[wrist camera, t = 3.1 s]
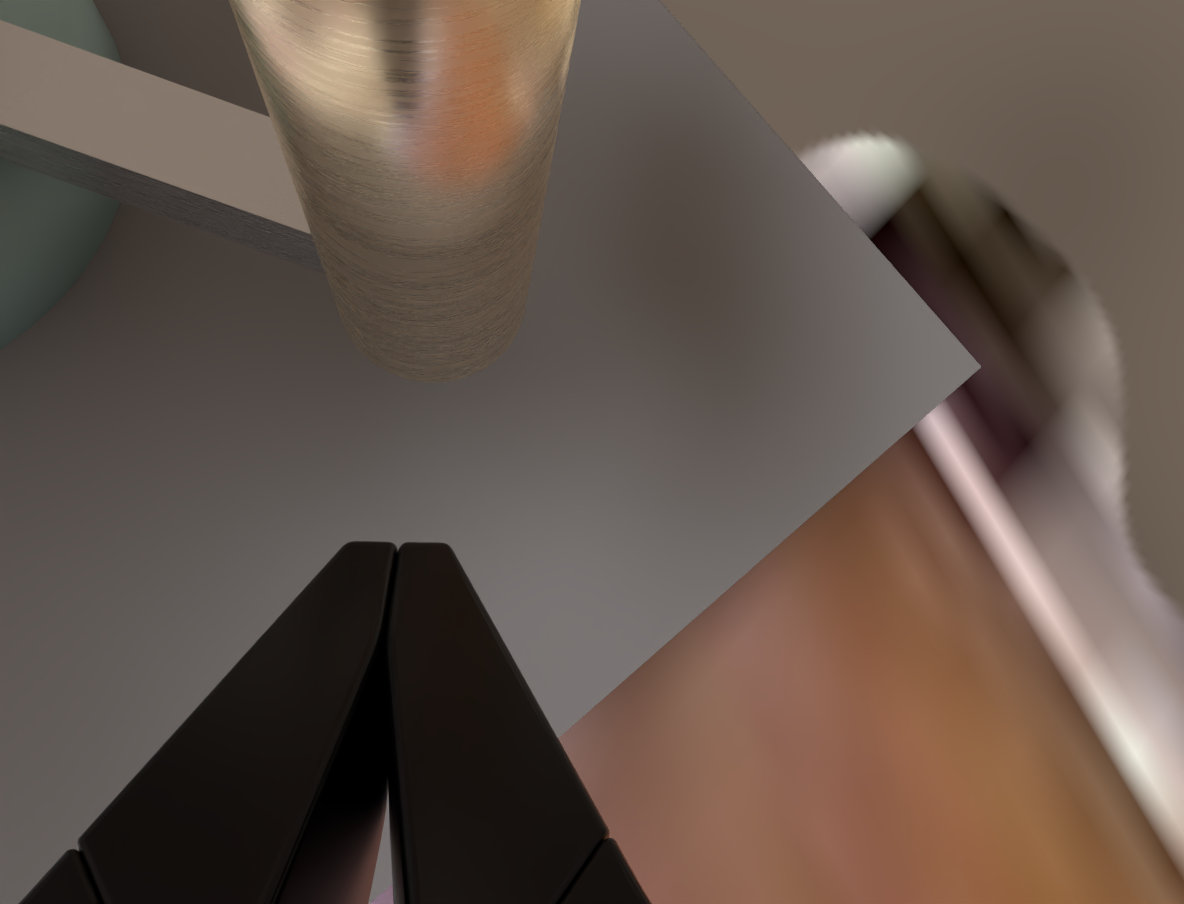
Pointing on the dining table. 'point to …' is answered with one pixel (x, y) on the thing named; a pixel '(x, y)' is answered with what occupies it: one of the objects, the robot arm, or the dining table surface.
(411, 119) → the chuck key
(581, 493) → the mat
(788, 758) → the dining table surface
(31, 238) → the teal round piece
